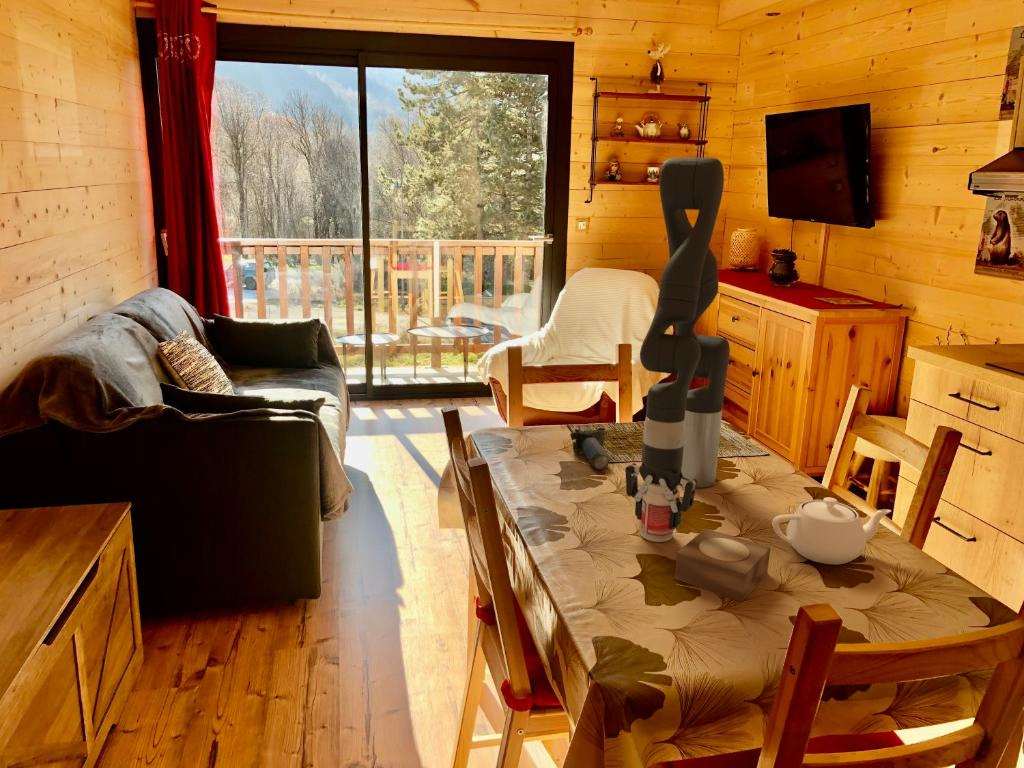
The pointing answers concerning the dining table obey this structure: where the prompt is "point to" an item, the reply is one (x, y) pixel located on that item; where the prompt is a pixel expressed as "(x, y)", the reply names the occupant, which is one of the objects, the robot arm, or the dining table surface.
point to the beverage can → (591, 446)
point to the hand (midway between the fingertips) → (656, 523)
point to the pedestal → (722, 564)
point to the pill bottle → (655, 515)
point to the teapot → (827, 531)
